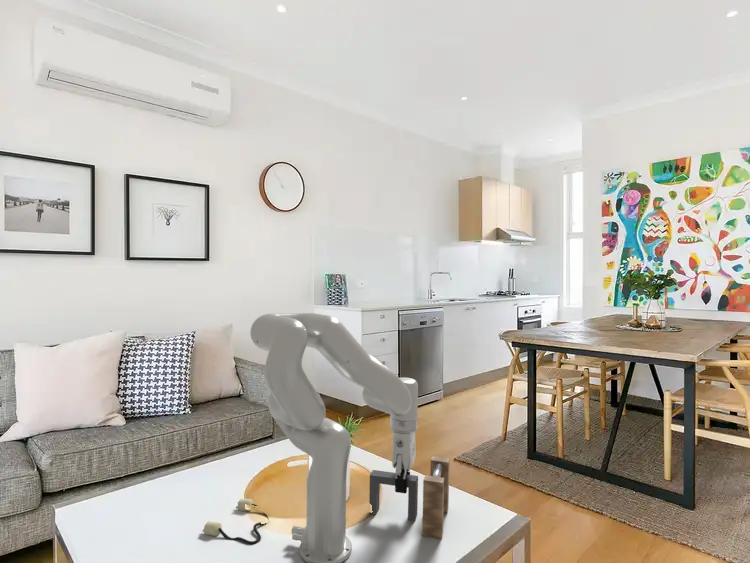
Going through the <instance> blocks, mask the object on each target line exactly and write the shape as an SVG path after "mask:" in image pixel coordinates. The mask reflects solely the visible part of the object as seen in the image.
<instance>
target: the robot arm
mask: <svg viewBox="0 0 750 563" xmlns="http://www.w3.org/2000/svg"><path fill="white" fill-rule="evenodd" d="M249 332H250V334H249V335H250V338H251V339H250V340H251V341H252V343H253V344H254V345H255V346H256V347H257V348H258V349H261V350H263V351H266V352H268V353H267V356H266V360H265V366H264V374H263V375H264V382H265V385H266V386H267V388H268V390H269V392H270V393H269V396H268V403H267V404H268V410H269V412H270V415H271V416H272V418H273V419H274V421H275V422H276V424H277V425H278V426H279V428H280V430H282V432H283V433H284V435H285V437H287V438H288V440H289V441H290V443H292V445H293V446H294V447H295V448H297V449H298V450H300V451H301V452H304V454H306V455H308V456H310V458H312V460H311V465H310V467H309V470H308V472H307V477H306V519H305V520H306V522H305V523H306V524H305V525H306V526H304V527H301V526H299V525H293V526H292V527H291V539H292V540H294V541H300V542H301V543H300V544H299V555H300V557H301V559H302V560H303V561H305V562H306V563H343V562H344V561H346V560H347V559H348V558H349V557H350V555H351V554H352V552H353V551H352V550H353V549H352V548H353V546H352V545H353V543H352V541H351V540H350V538H348V536H346V534H347V533H346V530H347V529H346V528H347V527H346V526H347V525H346V524H347V523H346V522H347V520H346V519H347V475H348V474H347V473H348V465H349V464H348V463H349V457H350V453H351V448H352V439H351V436H350V433H349V431H348V430H347V429H346V428H345V427H344V426H343V425H342V424H340V423H338V422H337V421H334V420H332V419H330V418H328V417H326V415H327V413H326V412H327V411H326V410H327V409H326V406H325V402H324V400H323V399H322V397H321V395H320V394H319V393H318V391H317V390H316V388H315V387H314V385H313V384H312V382H311V380H309V378H308V376H307V374H306V372H305V370H304V369H303V357H304V354H305V351H306V347H309V348H312V349H315V350H316V351H318V352H319V353H320V354H321V356H323V357H324V359H325V360H326V361H328V363H329V364H331V366H332V367H333V368H334V369H335V370H336V371H337V372H338V374H340V375H341V376H342V378H345V379H346V380H347V381H349V382H351V383H353V384H354V385H356V386H359V387H361V388H363V390H362V394H361V396H362V400H363V402H364V403H365V404H366V405H367V406H368V407H370V408H372V409H374V410H377V411H380V412H383V413H385V414H389V415H390V416H389V417H390V419H389V429H390V430H391V431H392V432H393V435H392V450H391V452H392V454H391V455H392V457H391V458H392V460H391V462H392V468H394V469H395V473H396V475H395V486H394V492H395V493H399V494H407V492H408V488H407V478H406V474H407V475H411V469H412V466H413V465H414V462H415V461H416V460H415V459H416V432H417V431H418V413H419V411H418V410H419V408H418V407H419V406H418V404H419V403H418V402H419V400H418V399H419V384H418V382H417V380H416V379H414V378H411V377H405V376H404V377H399V376H398V375H397V374H396V373H394V371H392V370H391V369H390V368H388V367H387V366H386V365H384V364H383V363H382V362H380V361H379V360H378V359H377V358H375V357H374V356H373V355H371V354H370V353H368V352H367V351H366V349H365V348H364V347H363V346H362V345H361V344H360V343H359V342H358V340H357V339H356V338H355V336H353V335H352V333H351V332H350V331H349V330H348V329H347V327H346V326H345V325H344V323H342V322H341V321H340V320H339V319H338V318H336V317H334V316H332V315H327V314H322V313H315V312H314V313H313V312H305V313H304V312H301V313H266V314H262V315H261V316H258V317H257V318H256V319H255V320H254V322H253V323H252V324H251V327H250V331H249Z"/></svg>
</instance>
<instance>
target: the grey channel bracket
mask: <svg viewBox="0 0 750 563" xmlns="http://www.w3.org/2000/svg"><path fill="white" fill-rule="evenodd" d="M395 475H396V472H391V471H386V470H385V471H384V470H376V469H373V470H371V472H370V474H369V496H368V497H369V500H368V504H369V503H370V504H371V505H372V511H373V512H372V514H371V515H374V516H377V515H378V512H379V510H380V488H381V487H380V485H387V486H394V487H395ZM406 478H407V492H408V494H407V495H408V496H407V498H408V499H407V500H408V501H407V503H408V504H407V520H408V521H411V522H416V520H417V518H418V505H419V503H418V499H419V498H418V497H419V496H418V494H419V493H418V492H419V475H414V474H410V475H407V474H406Z"/></svg>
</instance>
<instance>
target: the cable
mask: <svg viewBox="0 0 750 563" xmlns="http://www.w3.org/2000/svg"><path fill="white" fill-rule="evenodd" d="M253 503H254V500H253V499H252V498H239V500H238V501H237V506H235V509H237V510H238V511H242V512H247V511H246V509H245V504H247V505H254V506H258V505H257V504H255V503H254V504H253ZM261 522H262V521H261ZM261 522H260V521H259V522H256V523H255V524H253V532H254V533H255V535H256V536H257V539H255V540H254V541H253V540H252V541H251V540H249V539H245V538H243V537H239V536H238V537H237V536H236V537H231V536H229V535H227V533H226V532H224V530H223V526H222V524H221V523H222V522H216V521H207V522H206V523H205V524H204V527H203V529H202V533H204V535H205V536H213V537H217V536H219V535H222V537H224V539H225V540H229V541H239V542H242V543H244V544H246V545H255V544H258V543H260V542H261V539H262V536H261V533H259V531H258V529H257V527H260V526H263V525H262V524H261Z"/></svg>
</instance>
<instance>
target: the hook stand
mask: <svg viewBox="0 0 750 563" xmlns="http://www.w3.org/2000/svg"><path fill="white" fill-rule="evenodd" d="M450 460H451V458H450V457H443V456H442V457H441V456H434V455H432V456H431V458H430V469H429V470H430V472H429V473H430V475H427V474H426V475H425V476H424V478H423V480H422V482H423V485H422V525H421V526H422V528H421V529H422V532H421V533H422V534H421V536H423V537H427V538H434V539H439V540H442V539H443V535H444V514H448V512H449V506H450V505H449V504H450V503H449V502H450V501H449V498H450V497H449V494H450Z"/></svg>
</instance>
